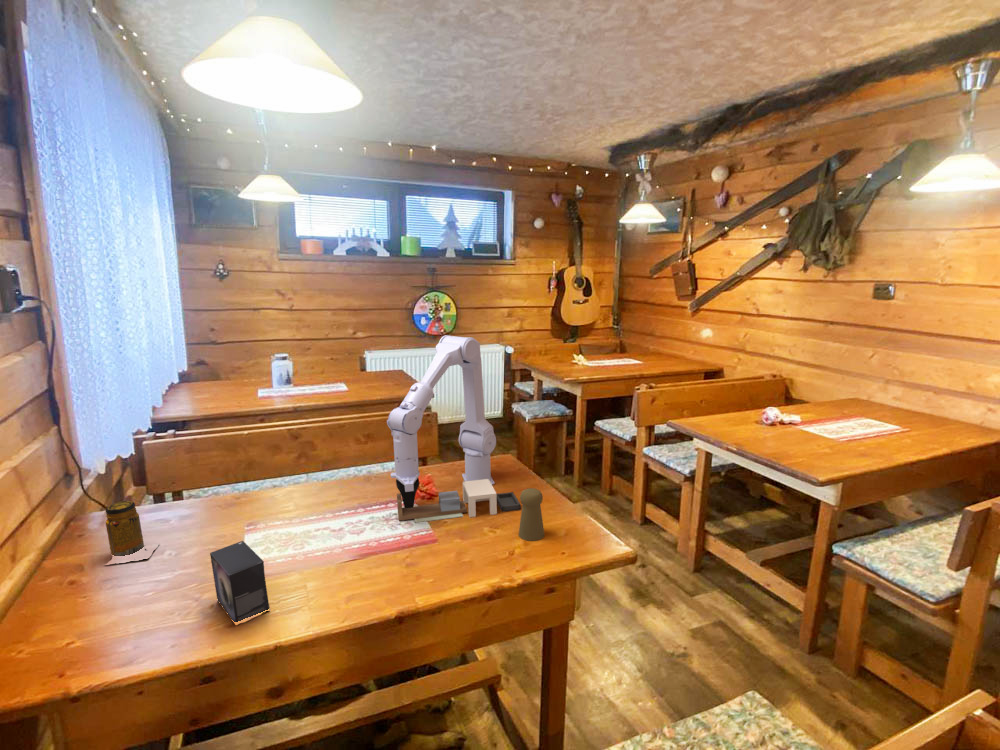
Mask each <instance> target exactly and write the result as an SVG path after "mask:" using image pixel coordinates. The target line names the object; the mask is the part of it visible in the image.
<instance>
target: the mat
mask: <svg viewBox="0 0 1000 750" xmlns="http://www.w3.org/2000/svg"><path fill="white" fill-rule="evenodd" d="M463 517H464V515H463V513H457V514H448V515H440V516H432V517H423V518H415V519H413V521H414V523H423V522H430V521H431V522H432V521H440V520H446V519H447V520H448V519H456V518H463Z"/></svg>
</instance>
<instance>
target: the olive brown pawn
mask: <svg viewBox="0 0 1000 750" xmlns="http://www.w3.org/2000/svg"><path fill="white" fill-rule="evenodd" d="M543 497H544V495H543V493H542V492H541V490H539V489H537V488H531V487H530V488H524V489H523V490H522V491H521V492H520V496H519V500H520V501H519V502H520V504H522V505H521V514H520V521H519V529H518V537H519V538H520V539H522V540H523V541H528V542H536V541H540V540H543V538H544V537H545V529H544V523H543V516H542V515H543V514H542V507H541V504H542V503H543Z"/></svg>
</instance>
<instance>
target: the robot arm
mask: <svg viewBox="0 0 1000 750" xmlns="http://www.w3.org/2000/svg"><path fill="white" fill-rule="evenodd" d="M456 365H458V366H460V367H461V368H462V369H461V370H462V372H461V373H462V385H463V386H462V387H463V398H464V413H465V420H464V421H463V422H462V423H461V424H460V426H459V427H460V428H459V435H458V444H459V446H460V447H461V448H462V452H464V472H465V473H461V476H462V478H463V482H464V481H473V480H483V479H489V481H490V483H491V484H492V486H493V485H495V481H494V479H493V477H492V476H491V474H492V471H491V469H492V467H491V453H493V451H494V450H495V448H496V445H497V438H496V434H495V432H494V426H493V425H492V424H491V423H489V422H488V421H489V420H487V419H486V416H485V399H484V383H483V382H484V381H483V369H482V368H483V366H482V365H483V364H482V357H481V342H480V341H478V340H477V339H476V338H474V337H470V336H469V337H465V336H453V335H449V334H445V335H443V336H442V337H441V338H440V339H439V342H438V343H437V344H436V345H435V354H434V357H433V359H432V360H431V362H430V364H429V366H428V368H427V370H426V371H425V373H424V375H423V377H422V379H421V381H418V382H414V384H412V385H411V387H410V388H409V391H408V392H407V394H406V395H405V397H404V399H403V400H402V402H401V403H400V405H399V406H398V407H395V408H393V409H392V410H391V411H390V413H389V414H388V418H387V420H386V424H387V426H388V428H389V429H390V432H391V436H392V438H393V439H392V441H393V442H392V443H393V455H394V456H393V457H394V470H395V471H394V472H390V478H391V479H395V482H396V483H395V484H396V488H397V490H398V491H399V493H401V499H402V505H403V506H404V507H405V509H406V508H413V506H415V500H416V494H417V491H418V488H419V487H420V481H419V480H420V478H419V477H420V475H421V474H420V470H419V469H420V468H419V452H418V450H419V449H418V435H417V433H418V431H419V429H420V428H421V427H422V423H423V417H424V412H425V410H426V408H427V407H428V406H429V404H430V402H431V400H433V398H434V395H435V394H434V388H435V386H437V383H438V382H439V381H440V379H442V377H443V375H444V374H445V373H446V372H447V370H448V369H449V368H450V367H452V366H456ZM404 507H403V508H404Z"/></svg>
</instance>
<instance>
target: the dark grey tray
mask: <svg viewBox="0 0 1000 750" xmlns="http://www.w3.org/2000/svg"><path fill="white" fill-rule="evenodd" d="M496 495H497V505H498V506H497V507H500V508H499V509H500V511H501V513H504V512H505V513H506V512H514V511H522V505H521V504H522V503H521V502H520V501H519V499H518V498H517V496H516V495H515V493H514V492H513V491H510V492H509V491H508V492H502V493H501V492H500V493H496Z"/></svg>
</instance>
